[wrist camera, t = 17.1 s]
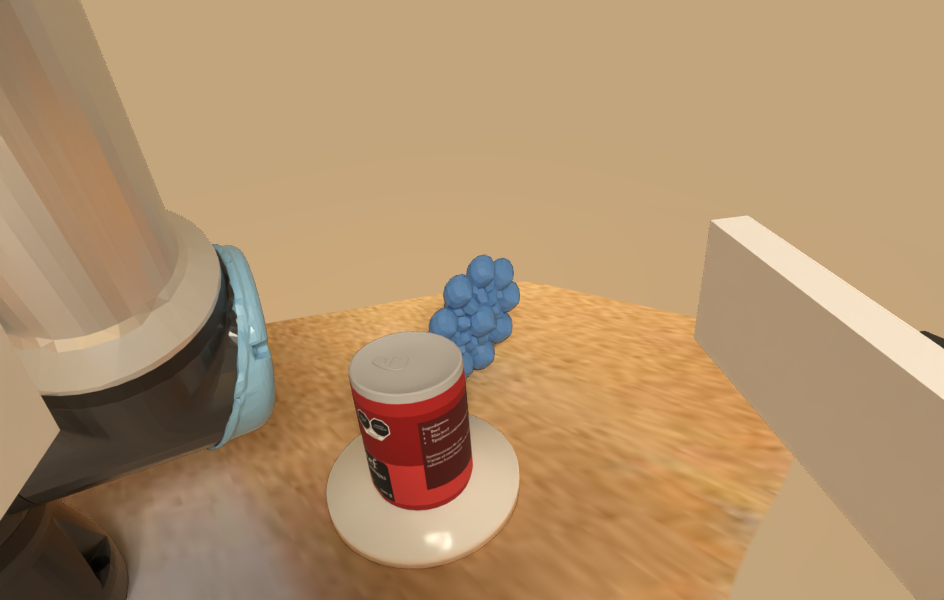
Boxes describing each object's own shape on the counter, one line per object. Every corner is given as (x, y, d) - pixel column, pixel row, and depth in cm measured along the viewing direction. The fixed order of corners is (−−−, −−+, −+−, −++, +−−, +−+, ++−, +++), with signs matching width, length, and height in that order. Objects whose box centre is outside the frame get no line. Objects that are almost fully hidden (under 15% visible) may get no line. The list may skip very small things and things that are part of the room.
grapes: (489, 328, 66) (482, 228, 60) (536, 351, 62) (533, 246, 56) (408, 377, 59) (391, 271, 53) (454, 407, 55) (441, 294, 49)
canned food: (378, 443, 50) (355, 333, 44) (473, 436, 50) (462, 326, 44) (365, 518, 43) (337, 400, 38) (475, 510, 43) (463, 392, 37)
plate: (290, 540, 43) (287, 529, 43) (381, 407, 55) (379, 397, 55) (486, 593, 39) (485, 581, 38) (539, 436, 51) (538, 425, 50)
